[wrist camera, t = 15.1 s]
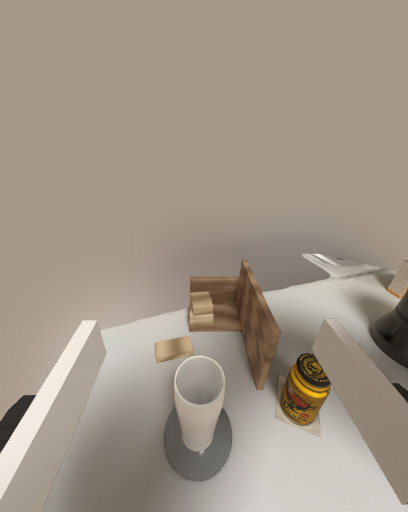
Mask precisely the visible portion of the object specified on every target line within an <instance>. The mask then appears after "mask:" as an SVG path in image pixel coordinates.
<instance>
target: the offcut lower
mask: <svg viewBox="0 0 408 512" xmlns="http://www.w3.org/2000/svg"><path fill="white" fill-rule="evenodd" d="M211 301H212V300H211ZM190 325H213V314H206V315H197V316H193V312H192V307H191V302H190Z"/></svg>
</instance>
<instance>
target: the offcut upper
mask: <svg viewBox="0 0 408 512" xmlns="http://www.w3.org/2000/svg"><path fill="white" fill-rule="evenodd" d="M190 302H191V307H192V312H193V316H197V315H206V314H213V304H212V301H211V298H210V295H209V292H208V291H207V292H196V293H190Z"/></svg>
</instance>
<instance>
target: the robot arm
mask: <svg viewBox="0 0 408 512" xmlns="http://www.w3.org/2000/svg"><path fill="white" fill-rule="evenodd" d="M371 334H372V337H373V339H374V341H375V342H376V344H377V345H378V346H379V347H380V348H381V349H382V350H383V351H384V352H385V353H386V354H387V355H389V356H390V357H391V358H393V359H394V360H395V361H397V362H399V363H400V364H402V365H404V366H405V367H407V368H408V290H407V291H406V293H405V294H404V296H403V297H402V299H401V300H400V302H399V303H398V305H397V306H396V308H395V309H394V310H393V311H391V312H390V313H388V314H387V315H385V316H384V317H382V318H381V319H379V320H378V321H376V323H375V324H374V326H373V327H372V330H371ZM311 350H312V351H313V353H314V355H315V357H316V358H317V360H318V362H319V363H320V365H321V367H322V369H323V370H324V372H325V374H326V375H327V377H328V379H329V381H330V382H331V384H332V386H333V387H334V389H335V391H336V392H337V394H338V396H339V398H340V399H341V401H342V403H343V404H344V406H345V408H346V410H347V411H348V413H349V415H350V416H351V418H352V420H353V422H354V423H355V425H356V427H357V428H358V430H359V432H360V434H361V435H362V437H363V439H364V440H365V442H366V444H367V446H368V447H369V449H370V451H371V452H372V454H373V456H374V458H375V459H376V461H377V463H378V464H379V466H380V468H381V470H382V471H383V473H384V475H385V476H386V478H387V480H388V482H389V483H390V485H391V487H392V488H393V490H394V492H395V494H396V495H397V497H398V499H399V500H400V502H401V504H402V505H405V504H408V391H407V390H406V389H405V388H403V387H402V386H401V385H400V384H398V383H391V382H390V381H389V380H388V379H387V378H386V376H385V375H384V374H383V373H382V372H381V371H380V369H379V368H378V367H377V366H376V365H375V363H374V362H373V361H372V360H371V359H370V357H369V356H368V355H367V354H366V353H365V351H364V350H363V349H362V348H361V347H360V345H359V344H358V343H357V342H356V341H355V339H354V338H353V337H352V336H351V335H350V333H349V332H348V331H347V330H346V329H345V327H344V326H343V325H342V324H341V323H340V321H339V320H338V319H337V318H332V319H324V321H323V324H322V326H321V328H320V330H319V333H318V335H317V337H316V340H315V342H314V344H313V346H312V349H311ZM105 355H106V350H105V346H104V343H103V339H102V336H101V332H100V329H99V325H98V322H97V321H82V323H81V324H80V326H79V328H78V329H77V331H76V332H75V334H74V336H73V337H72V339H71V340H70V342H69V344H68V345H67V347H66V349H65V350H64V352H63V353H62V355H61V357H60V358H59V360H58V361H57V363H56V365H55V366H54V368H53V370H52V371H51V373H50V374H49V376H48V378H47V379H46V381H45V382H44V384H43V386H42V387H41V389H40V390H39V392H38V394H37V395H25V396H23V397H22V398H20V399H19V400H18V401H17V402H16V403H15V404H14V405H13V406H12V407H11V408H10V409H9V410H8V411H7V413H6V414H5V416H4V417H3V419H2V420H1V421H0V512H41V511H42V509H43V506H44V504H45V501H46V499H47V497H48V494H49V492H50V489H51V487H52V484H53V482H54V480H55V477H56V475H57V472H58V470H59V467H60V465H61V462H62V460H63V458H64V455H65V453H66V450H67V448H68V445H69V443H70V441H71V438H72V436H73V433H74V431H75V428H76V426H77V423H78V421H79V419H80V416H81V414H82V411H83V409H84V406H85V404H86V402H87V399H88V397H89V394H90V392H91V389H92V387H93V384H94V382H95V380H96V377H97V375H98V372H99V370H100V367H101V365H102V363H103V360H104V358H105Z"/></svg>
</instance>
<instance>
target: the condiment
mask: <svg viewBox="0 0 408 512" xmlns="http://www.w3.org/2000/svg"><path fill="white" fill-rule="evenodd" d="M330 385H331V382H330V381H329V379H328V377H327V375H326V374H325V372H324V370H323V369H322V367H321V365H320V363H319V362H318V360H317V358H316V357H315V355H313V354H308V353H306V354H302V355H301V356H299V358H298V359H297V362H296V363H295V364H294V365H293V366H292V368H291V370H290V372H289V375H288V377H284V376H282V375H279V378H278V391H277V404H276V418H278V419H280V420H283V421H285V422H287V423H289V424H291V425H294V426H296V427H298V428H301V429H303V430H305V431H308V432H311V433H313V434H315V435H318V436H320V437H321V431H320V421H319V410H320V408H321V406H322V405H323V403H324V401H325V399H326V398H327V396H328V394H329V392H330Z"/></svg>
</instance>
